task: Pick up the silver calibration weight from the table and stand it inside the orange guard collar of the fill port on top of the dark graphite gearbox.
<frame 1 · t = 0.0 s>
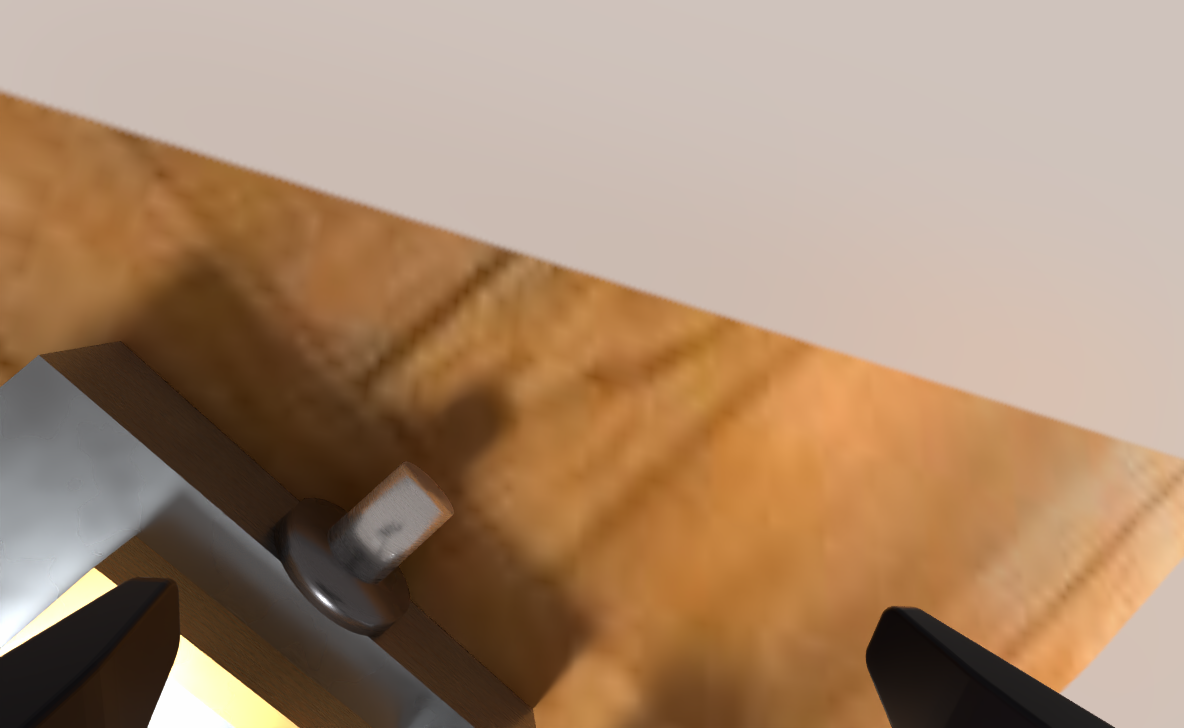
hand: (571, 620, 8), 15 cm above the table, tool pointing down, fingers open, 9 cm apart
gearbox: (196, 682, 22), on the table
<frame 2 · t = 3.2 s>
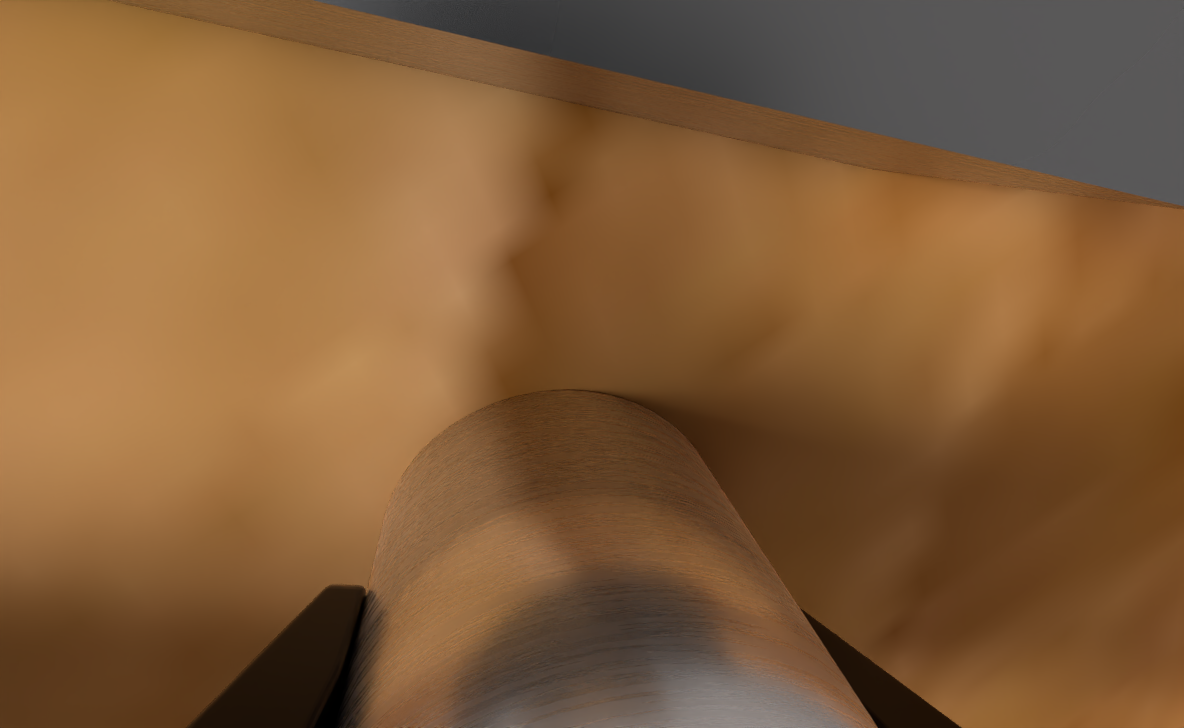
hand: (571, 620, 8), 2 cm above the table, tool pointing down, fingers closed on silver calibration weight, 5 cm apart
silver calibration weight: (556, 543, 9), on the table, touching gripper
when the fingers open (7 cm above the table, at t = 7.5 s): silver calibration weight drops 1 cm, resting on gearbox.
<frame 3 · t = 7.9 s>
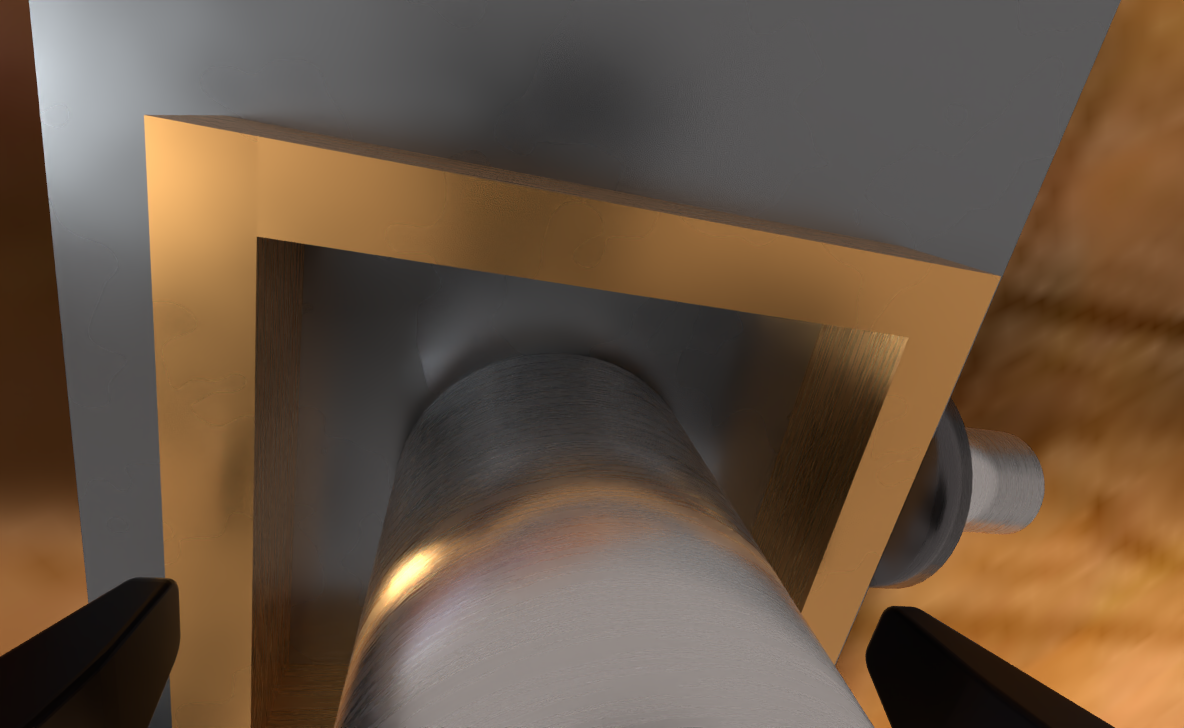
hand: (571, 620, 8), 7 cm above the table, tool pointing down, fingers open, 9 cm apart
silver calibration weight: (547, 490, 11), point 4 cm above the table, touching gearbox
gearbox: (530, 392, 14), on the table
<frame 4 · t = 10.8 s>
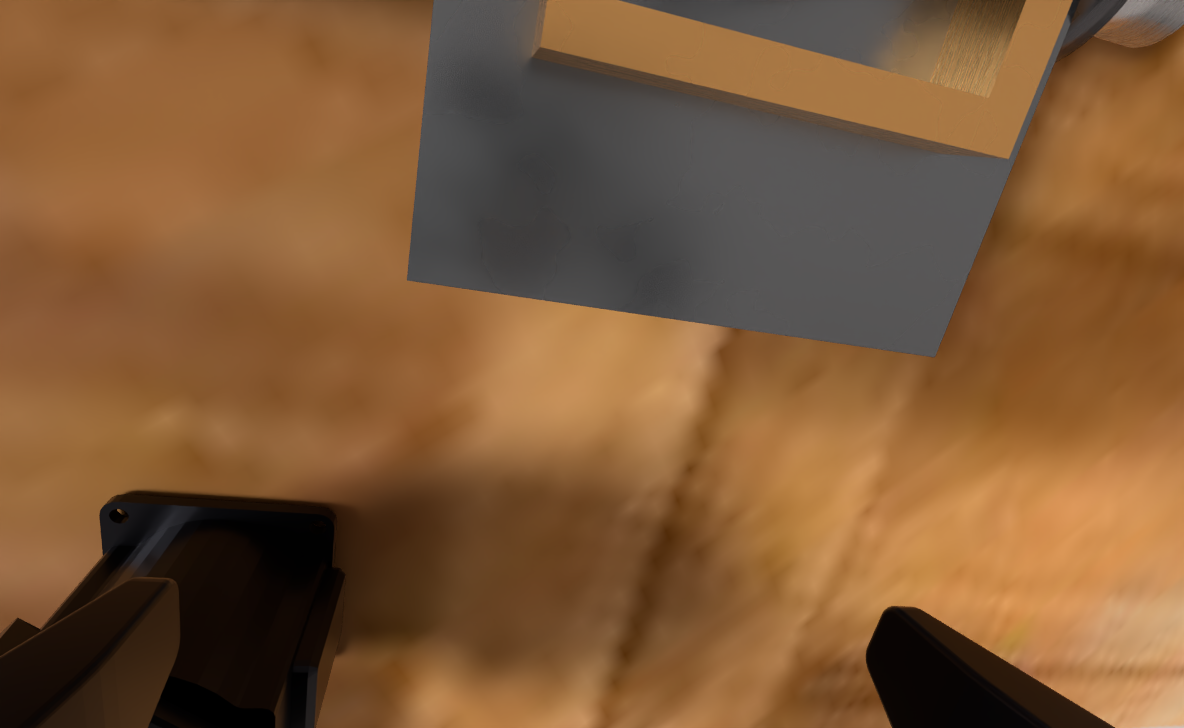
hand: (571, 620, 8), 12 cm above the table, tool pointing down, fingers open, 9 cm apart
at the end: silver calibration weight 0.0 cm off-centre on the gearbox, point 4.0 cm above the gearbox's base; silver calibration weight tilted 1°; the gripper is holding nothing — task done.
